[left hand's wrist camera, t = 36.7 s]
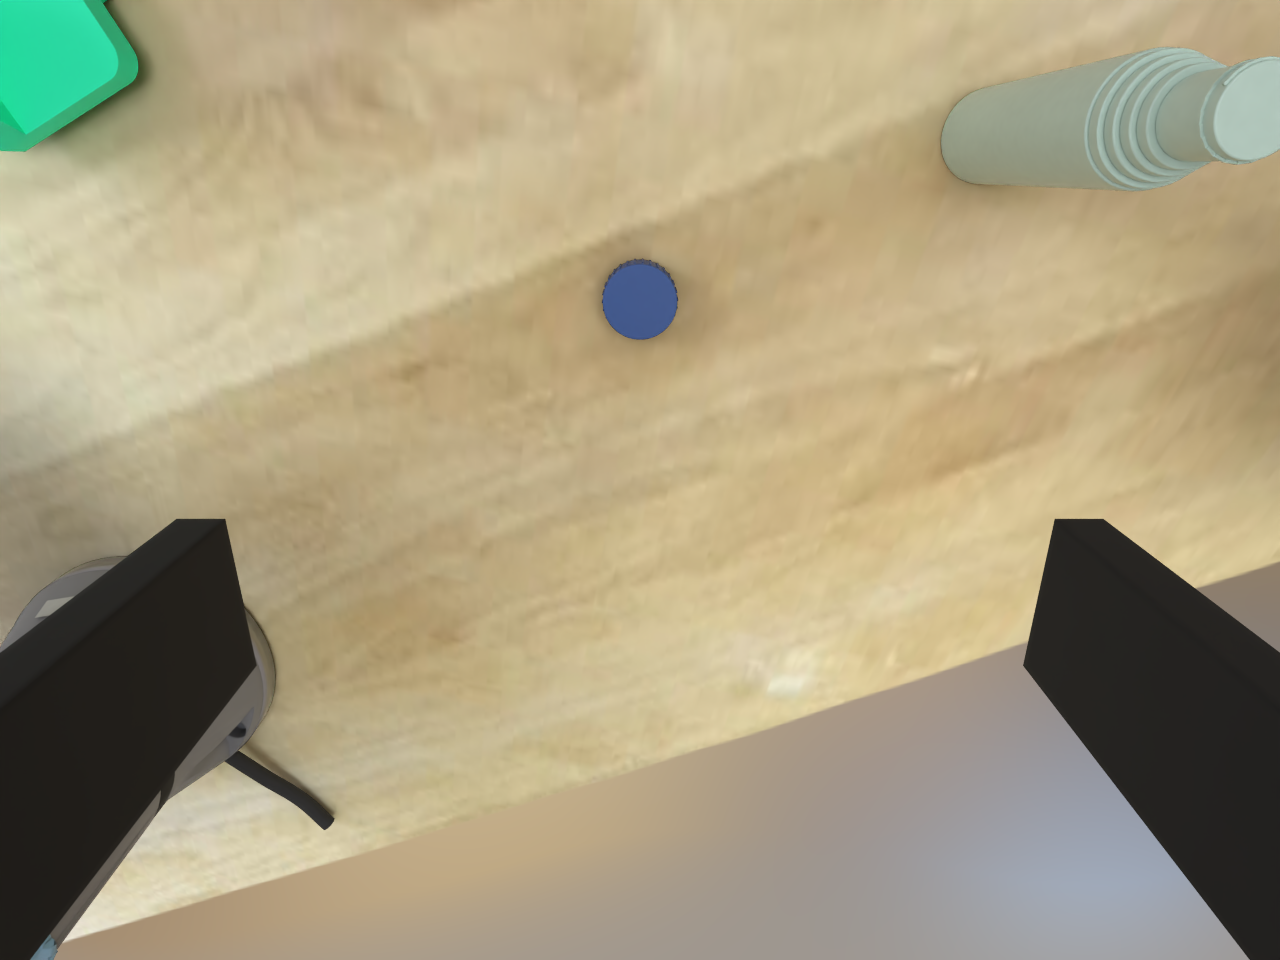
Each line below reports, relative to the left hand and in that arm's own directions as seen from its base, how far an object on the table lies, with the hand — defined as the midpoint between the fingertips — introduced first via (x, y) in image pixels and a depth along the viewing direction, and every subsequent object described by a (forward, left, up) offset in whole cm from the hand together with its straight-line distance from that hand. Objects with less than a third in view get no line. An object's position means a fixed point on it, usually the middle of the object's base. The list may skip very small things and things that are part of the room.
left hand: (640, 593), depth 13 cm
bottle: (+3, -19, -32) cm, 37 cm away
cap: (0, 0, -30) cm, 30 cm away
